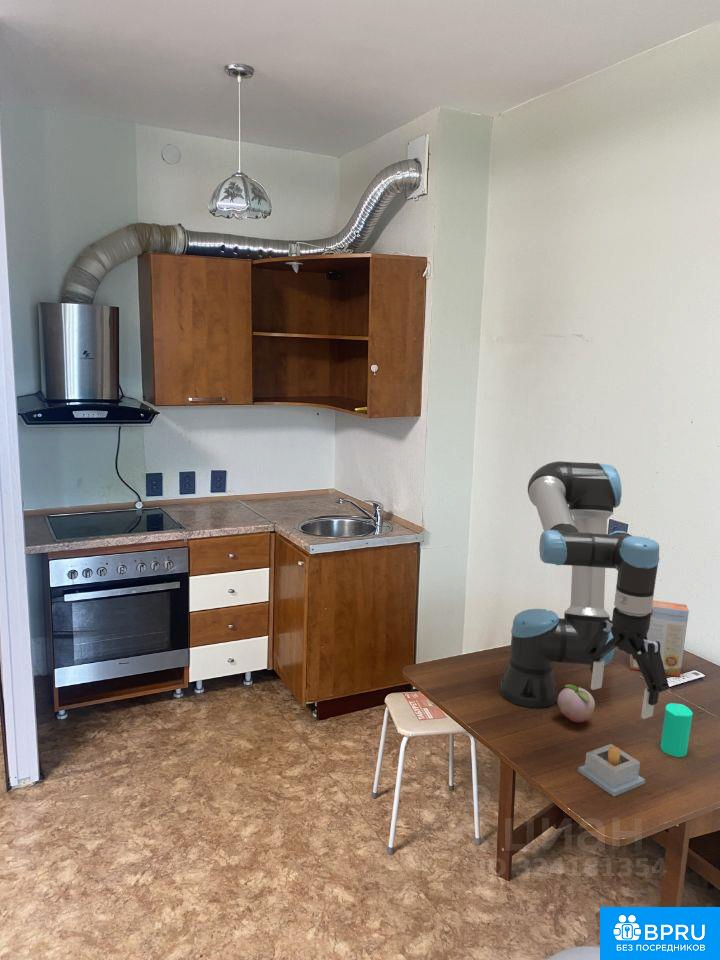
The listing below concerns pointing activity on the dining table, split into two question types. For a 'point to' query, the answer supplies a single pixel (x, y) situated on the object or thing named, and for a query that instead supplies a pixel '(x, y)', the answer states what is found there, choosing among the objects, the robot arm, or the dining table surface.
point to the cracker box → (667, 634)
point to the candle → (676, 729)
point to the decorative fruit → (576, 703)
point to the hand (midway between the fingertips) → (620, 701)
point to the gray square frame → (612, 767)
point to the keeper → (614, 760)
